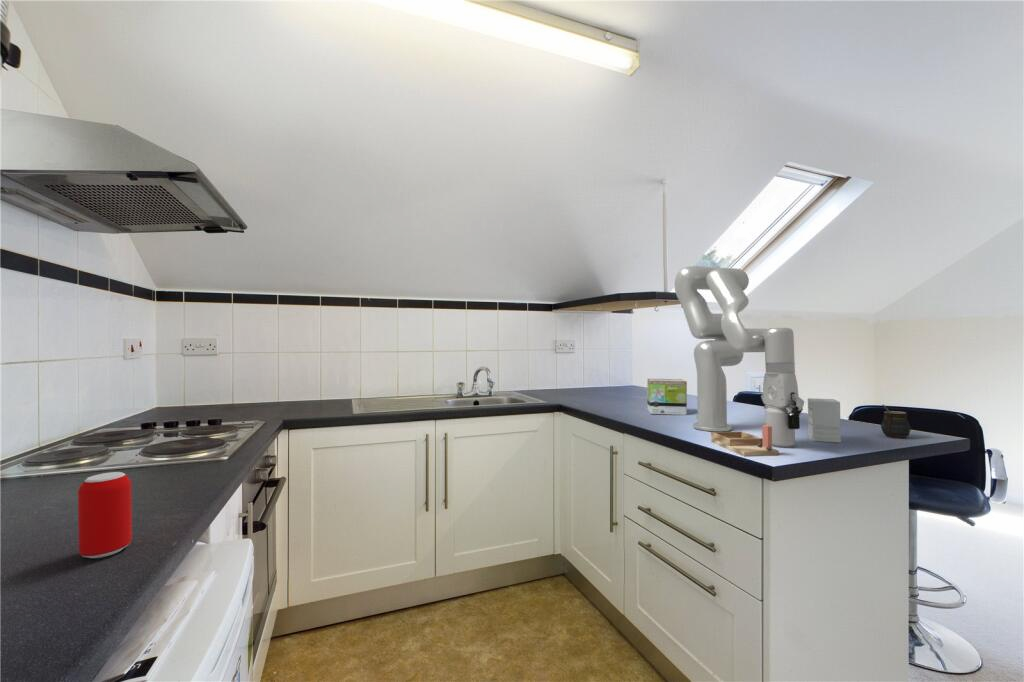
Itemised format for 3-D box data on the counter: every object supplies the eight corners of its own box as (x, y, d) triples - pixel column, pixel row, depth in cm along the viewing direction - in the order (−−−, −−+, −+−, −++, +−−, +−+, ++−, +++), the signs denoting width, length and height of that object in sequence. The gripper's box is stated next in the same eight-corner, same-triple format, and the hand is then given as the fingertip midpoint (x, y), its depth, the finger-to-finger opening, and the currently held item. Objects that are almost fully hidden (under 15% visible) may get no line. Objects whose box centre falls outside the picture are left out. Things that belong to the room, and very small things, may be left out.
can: (799, 448, 127) (799, 407, 127) (771, 447, 129) (771, 407, 129) (788, 442, 135) (788, 403, 135) (762, 441, 136) (761, 403, 136)
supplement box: (835, 438, 140) (834, 398, 140) (841, 443, 133) (840, 401, 133) (807, 436, 143) (807, 397, 143) (812, 441, 136) (811, 400, 136)
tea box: (650, 414, 187) (650, 380, 187) (647, 411, 197) (646, 378, 197) (687, 415, 185) (686, 380, 185) (682, 411, 195) (681, 378, 195)
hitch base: (711, 441, 137) (711, 432, 137) (741, 440, 138) (741, 431, 138) (743, 456, 120) (743, 445, 120) (778, 455, 121) (778, 444, 121)
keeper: (762, 424, 124) (766, 424, 124) (762, 446, 124) (766, 446, 124) (767, 426, 121) (771, 426, 122) (768, 448, 121) (772, 448, 122)
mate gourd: (902, 440, 136) (901, 408, 136) (874, 435, 143) (873, 405, 143) (916, 438, 138) (915, 406, 139) (888, 433, 146) (887, 403, 146)
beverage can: (70, 565, 65) (69, 484, 65) (89, 547, 71) (88, 473, 71) (123, 556, 68) (122, 478, 68) (137, 539, 73) (136, 468, 73)
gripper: (750, 368, 140) (752, 421, 139) (788, 370, 123) (790, 431, 122) (772, 367, 140) (774, 421, 140) (813, 369, 123) (816, 430, 123)
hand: (782, 426), depth 131 cm, fingers open, 9 cm apart
